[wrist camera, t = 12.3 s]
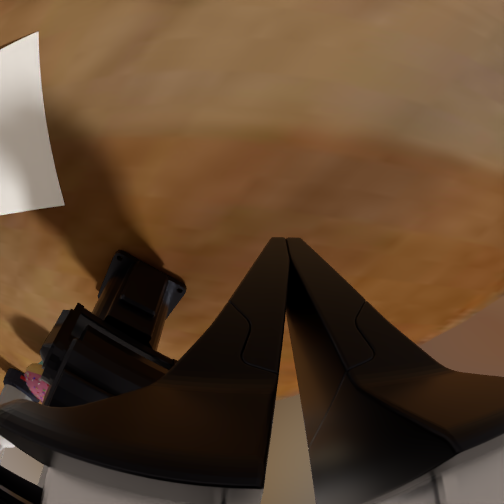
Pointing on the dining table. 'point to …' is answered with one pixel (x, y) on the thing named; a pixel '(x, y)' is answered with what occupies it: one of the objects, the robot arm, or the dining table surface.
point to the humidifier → (14, 394)
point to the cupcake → (36, 380)
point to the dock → (24, 133)
